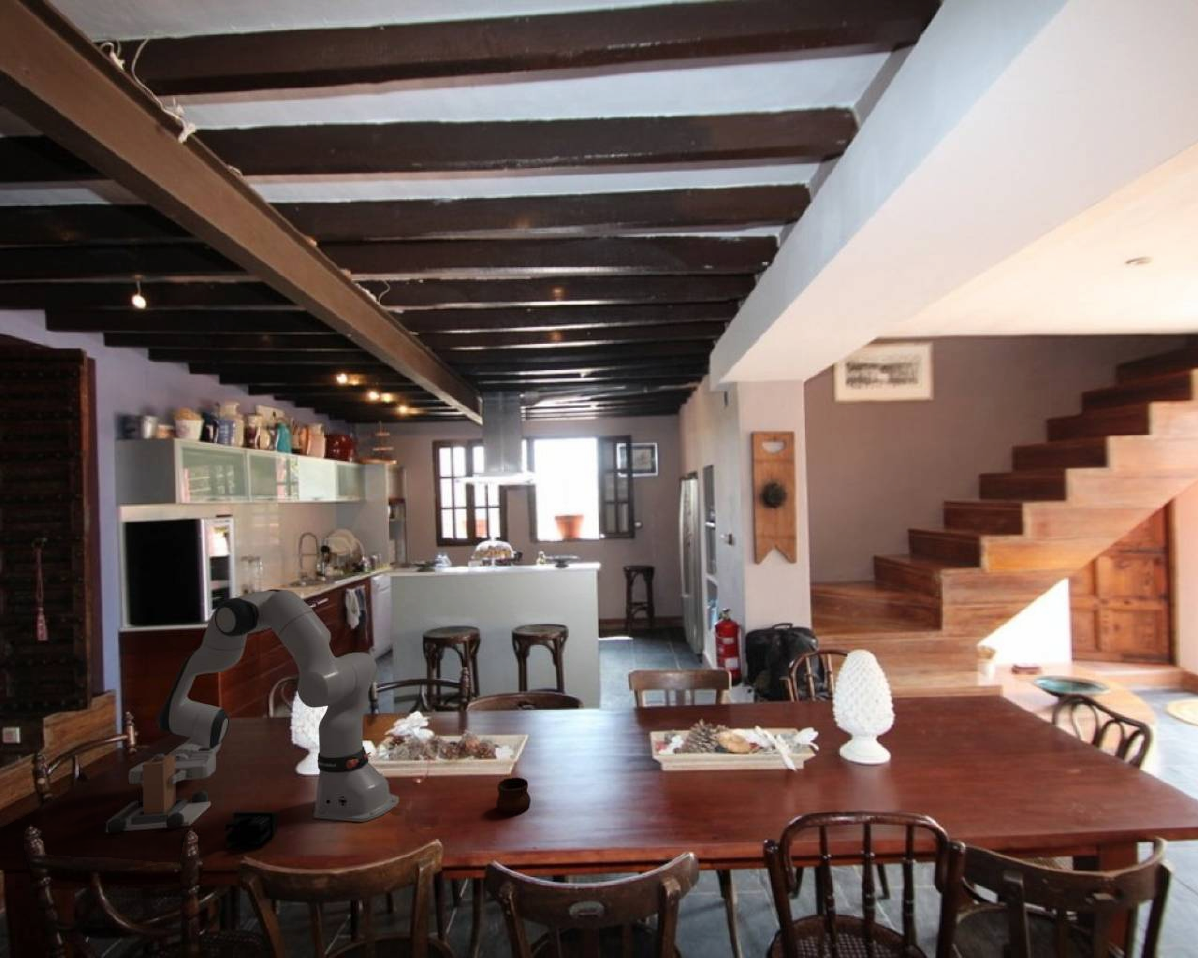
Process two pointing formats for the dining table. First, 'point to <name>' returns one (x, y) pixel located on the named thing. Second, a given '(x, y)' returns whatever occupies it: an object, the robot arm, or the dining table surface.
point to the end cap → (251, 830)
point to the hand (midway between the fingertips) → (157, 781)
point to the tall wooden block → (158, 784)
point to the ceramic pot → (513, 796)
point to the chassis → (158, 815)
